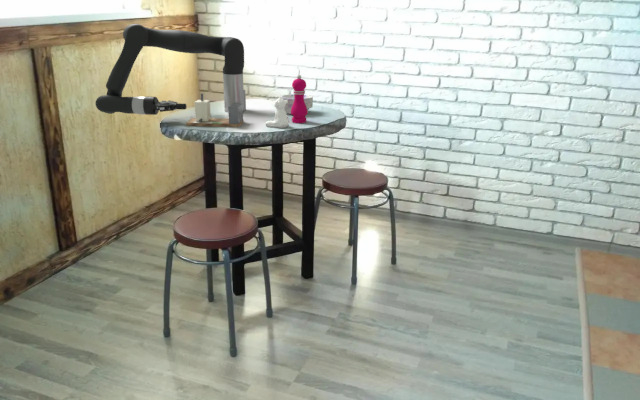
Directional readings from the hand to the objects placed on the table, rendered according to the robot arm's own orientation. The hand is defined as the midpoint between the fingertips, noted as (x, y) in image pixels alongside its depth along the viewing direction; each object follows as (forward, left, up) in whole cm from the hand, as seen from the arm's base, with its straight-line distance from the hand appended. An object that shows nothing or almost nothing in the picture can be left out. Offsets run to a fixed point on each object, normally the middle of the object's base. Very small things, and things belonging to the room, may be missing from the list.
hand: (185, 106), depth 227 cm
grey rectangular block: (-16, +14, -6) cm, 22 cm away
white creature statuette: (-28, +28, -7) cm, 41 cm away
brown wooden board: (-9, +8, -7) cm, 14 cm away
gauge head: (-4, +6, -6) cm, 9 cm away
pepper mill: (-40, +25, -7) cm, 48 cm away
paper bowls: (-51, +8, -7) cm, 53 cm away
